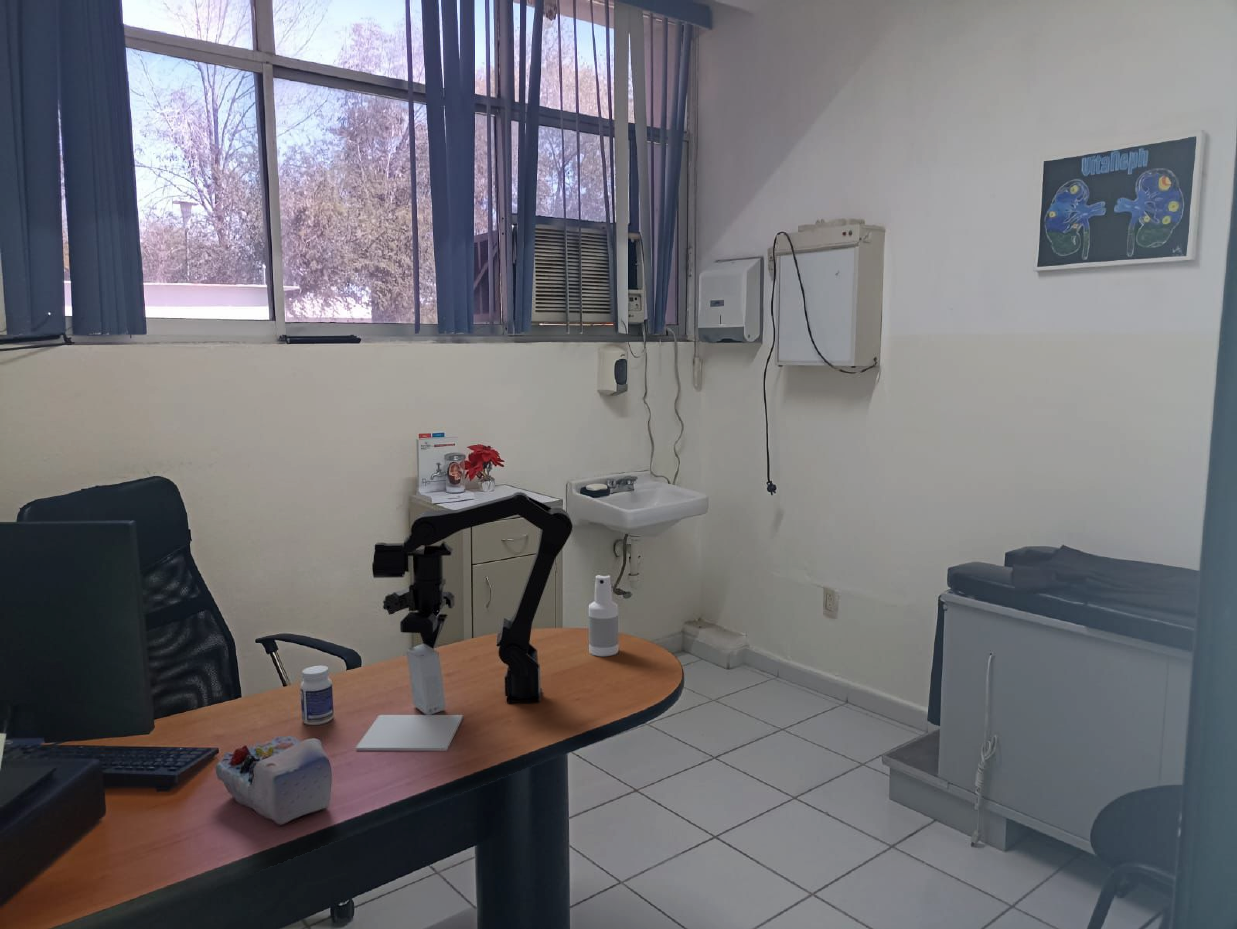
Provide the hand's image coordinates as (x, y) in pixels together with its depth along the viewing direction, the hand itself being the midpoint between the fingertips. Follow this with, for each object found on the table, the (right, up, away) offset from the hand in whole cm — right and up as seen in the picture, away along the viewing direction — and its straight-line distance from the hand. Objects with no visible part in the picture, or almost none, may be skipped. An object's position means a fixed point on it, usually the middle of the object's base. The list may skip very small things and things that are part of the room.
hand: (429, 653), depth 172 cm
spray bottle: (+34, -6, +30) cm, 46 cm away
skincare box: (0, -10, -2) cm, 11 cm away
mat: (0, -12, -13) cm, 18 cm away
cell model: (-15, -15, -37) cm, 43 cm away
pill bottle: (-20, -11, -7) cm, 24 cm away
